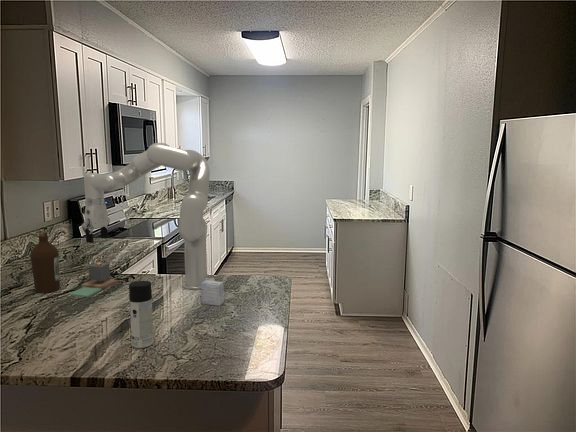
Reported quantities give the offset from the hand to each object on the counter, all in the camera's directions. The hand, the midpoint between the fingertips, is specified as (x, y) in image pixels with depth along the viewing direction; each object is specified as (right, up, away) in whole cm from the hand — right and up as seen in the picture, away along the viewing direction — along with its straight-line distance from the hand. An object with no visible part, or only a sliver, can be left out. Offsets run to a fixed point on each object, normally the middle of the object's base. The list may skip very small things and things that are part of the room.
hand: (97, 240), depth 192 cm
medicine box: (+54, -24, -19) cm, 62 cm away
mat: (-2, -22, -8) cm, 23 cm away
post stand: (0, -20, +3) cm, 20 cm away
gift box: (0, -17, +3) cm, 17 cm away
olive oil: (-19, -21, -4) cm, 29 cm away
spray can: (+38, -30, -55) cm, 73 cm away
